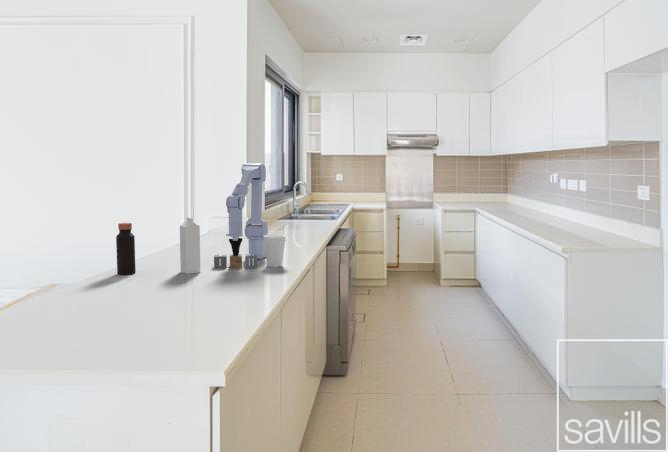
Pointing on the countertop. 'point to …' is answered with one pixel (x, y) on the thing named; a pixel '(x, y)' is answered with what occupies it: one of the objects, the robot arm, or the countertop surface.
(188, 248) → the milk
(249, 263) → the slate block
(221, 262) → the charcoal block
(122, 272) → the bottle
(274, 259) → the foam cup
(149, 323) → the countertop surface
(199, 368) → the countertop surface
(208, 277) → the countertop surface
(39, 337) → the countertop surface
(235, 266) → the walnut block
